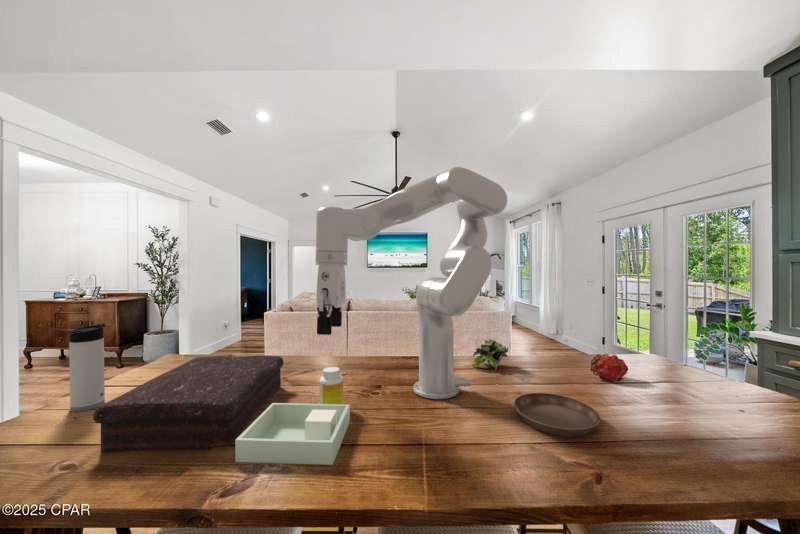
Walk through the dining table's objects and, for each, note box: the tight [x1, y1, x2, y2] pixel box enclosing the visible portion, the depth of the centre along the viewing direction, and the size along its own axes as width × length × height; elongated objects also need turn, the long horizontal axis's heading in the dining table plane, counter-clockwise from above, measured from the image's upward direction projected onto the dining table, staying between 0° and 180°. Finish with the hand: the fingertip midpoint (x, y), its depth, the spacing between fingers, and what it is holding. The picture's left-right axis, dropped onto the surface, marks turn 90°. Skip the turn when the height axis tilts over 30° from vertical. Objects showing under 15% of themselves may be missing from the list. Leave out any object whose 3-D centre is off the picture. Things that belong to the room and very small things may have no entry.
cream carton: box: [305, 409, 337, 440], centre depth 66 cm, size 5×5×5 cm
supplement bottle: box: [318, 366, 344, 404], centre depth 80 cm, size 6×6×10 cm
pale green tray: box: [234, 402, 351, 466], centre depth 66 cm, size 17×15×4 cm
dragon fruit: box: [589, 353, 629, 382], centre depth 102 cm, size 8×8×12 cm
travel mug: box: [68, 323, 106, 413], centre depth 83 cm, size 6×7×20 cm
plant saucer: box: [513, 392, 601, 438], centre depth 76 cm, size 18×18×3 cm
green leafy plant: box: [471, 339, 509, 372], centre depth 113 cm, size 11×11×12 cm
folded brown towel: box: [92, 355, 284, 454], centre depth 79 cm, size 34×26×10 cm
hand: (329, 330), depth 80 cm, fingers open, 9 cm apart
